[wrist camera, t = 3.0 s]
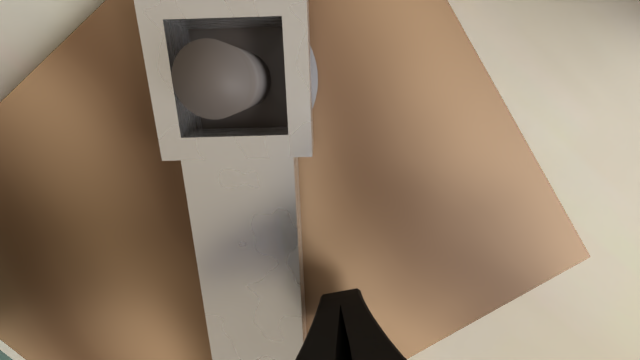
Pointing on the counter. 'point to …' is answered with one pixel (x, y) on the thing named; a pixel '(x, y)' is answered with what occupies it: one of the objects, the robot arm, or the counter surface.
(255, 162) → the link
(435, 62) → the board
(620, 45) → the counter surface
